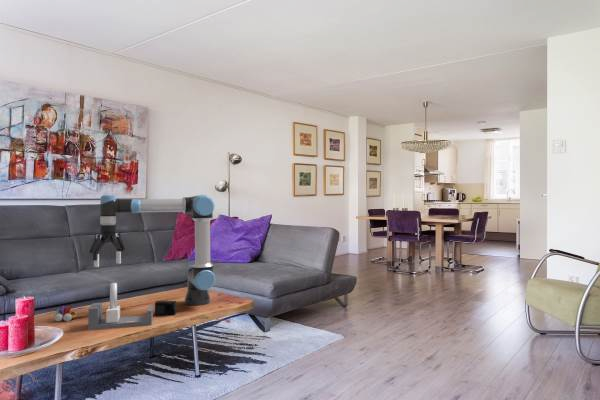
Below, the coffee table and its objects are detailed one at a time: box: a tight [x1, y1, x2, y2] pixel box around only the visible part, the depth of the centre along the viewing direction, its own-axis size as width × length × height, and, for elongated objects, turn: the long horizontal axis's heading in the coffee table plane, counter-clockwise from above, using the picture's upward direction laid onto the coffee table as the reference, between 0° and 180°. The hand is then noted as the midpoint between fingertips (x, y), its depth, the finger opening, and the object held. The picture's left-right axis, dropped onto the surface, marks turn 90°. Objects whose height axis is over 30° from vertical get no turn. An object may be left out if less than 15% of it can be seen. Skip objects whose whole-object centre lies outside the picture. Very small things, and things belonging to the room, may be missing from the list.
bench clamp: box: [87, 302, 154, 331], centre depth 204 cm, size 28×12×10 cm, turn 107°
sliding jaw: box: [105, 282, 121, 323], centre depth 203 cm, size 5×9×18 cm, turn 17°
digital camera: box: [154, 300, 177, 317], centre depth 221 cm, size 10×5×7 cm, turn 95°
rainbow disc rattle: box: [54, 305, 77, 323], centre depth 212 cm, size 8×10×7 cm
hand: (107, 265), depth 215 cm, fingers open, 13 cm apart
